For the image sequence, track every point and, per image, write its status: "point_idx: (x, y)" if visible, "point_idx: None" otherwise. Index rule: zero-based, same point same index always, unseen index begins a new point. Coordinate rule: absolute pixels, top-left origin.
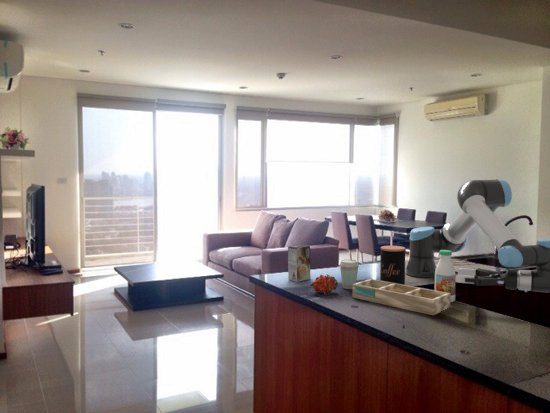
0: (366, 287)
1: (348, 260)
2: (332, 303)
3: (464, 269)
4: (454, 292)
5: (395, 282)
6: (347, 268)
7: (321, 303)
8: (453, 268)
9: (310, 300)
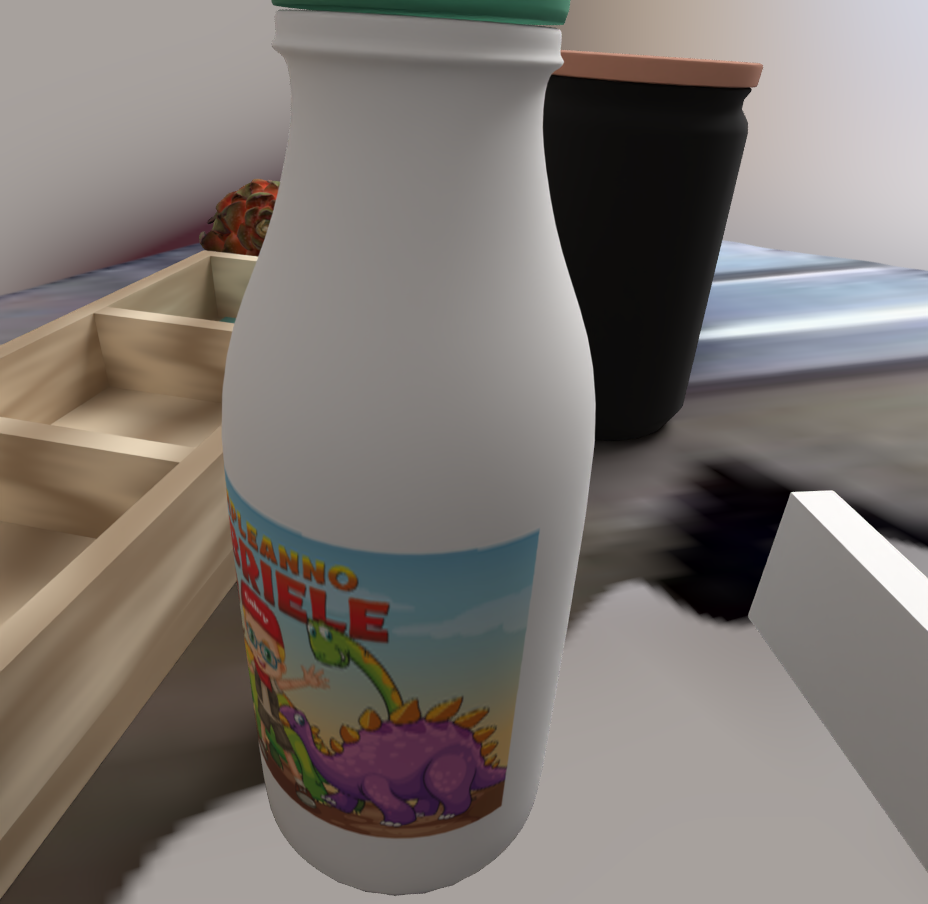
0: (142, 282)
1: None
2: (56, 307)
3: (886, 608)
4: (370, 810)
5: None
6: None
7: (50, 290)
8: (358, 399)
9: (104, 270)
